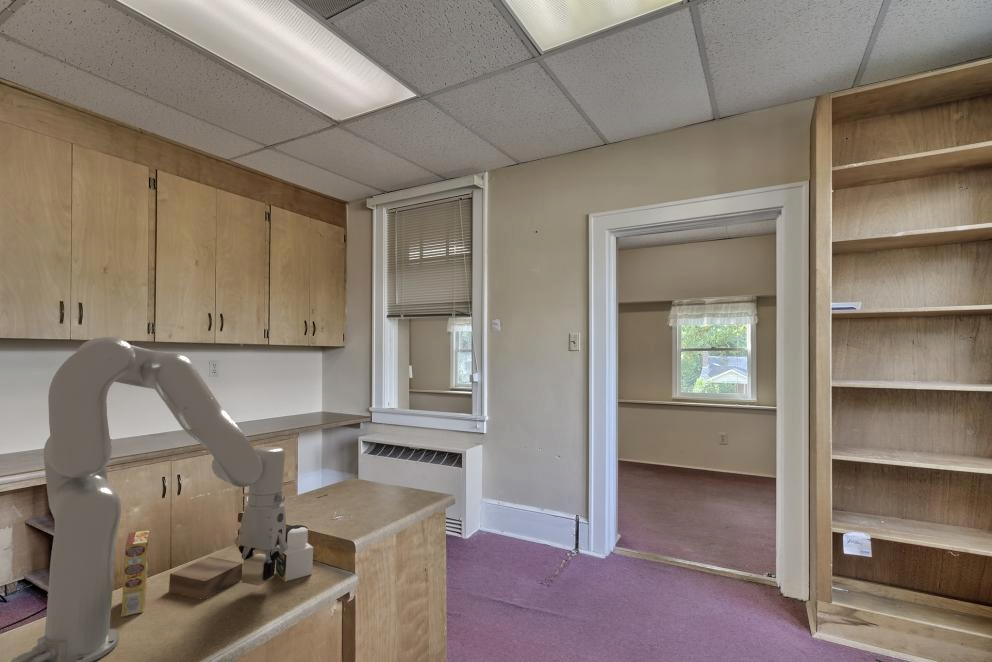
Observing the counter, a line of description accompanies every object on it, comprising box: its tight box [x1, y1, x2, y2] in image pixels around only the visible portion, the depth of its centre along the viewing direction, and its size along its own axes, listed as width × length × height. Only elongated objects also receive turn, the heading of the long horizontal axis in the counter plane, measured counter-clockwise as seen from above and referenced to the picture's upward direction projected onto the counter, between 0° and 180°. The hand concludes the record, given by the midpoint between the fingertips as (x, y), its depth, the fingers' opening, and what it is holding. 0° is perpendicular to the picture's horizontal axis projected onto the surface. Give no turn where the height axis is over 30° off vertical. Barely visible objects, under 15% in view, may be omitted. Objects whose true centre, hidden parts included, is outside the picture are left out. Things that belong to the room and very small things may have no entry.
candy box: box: [120, 530, 150, 617], centre depth 109 cm, size 9×4×15 cm, turn 33°
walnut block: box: [168, 556, 243, 600], centre depth 120 cm, size 11×11×4 cm
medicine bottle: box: [275, 524, 314, 582], centre depth 128 cm, size 7×7×12 cm
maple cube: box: [241, 553, 275, 587], centre depth 117 cm, size 5×5×5 cm
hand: (258, 575), depth 117 cm, fingers closed on maple cube, 5 cm apart
